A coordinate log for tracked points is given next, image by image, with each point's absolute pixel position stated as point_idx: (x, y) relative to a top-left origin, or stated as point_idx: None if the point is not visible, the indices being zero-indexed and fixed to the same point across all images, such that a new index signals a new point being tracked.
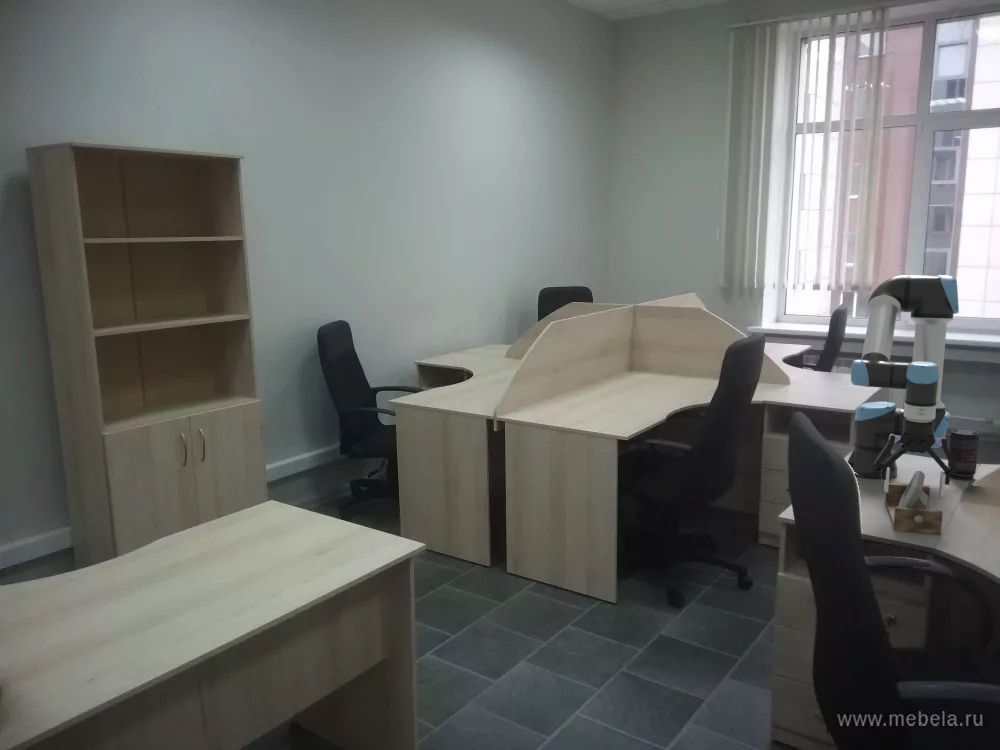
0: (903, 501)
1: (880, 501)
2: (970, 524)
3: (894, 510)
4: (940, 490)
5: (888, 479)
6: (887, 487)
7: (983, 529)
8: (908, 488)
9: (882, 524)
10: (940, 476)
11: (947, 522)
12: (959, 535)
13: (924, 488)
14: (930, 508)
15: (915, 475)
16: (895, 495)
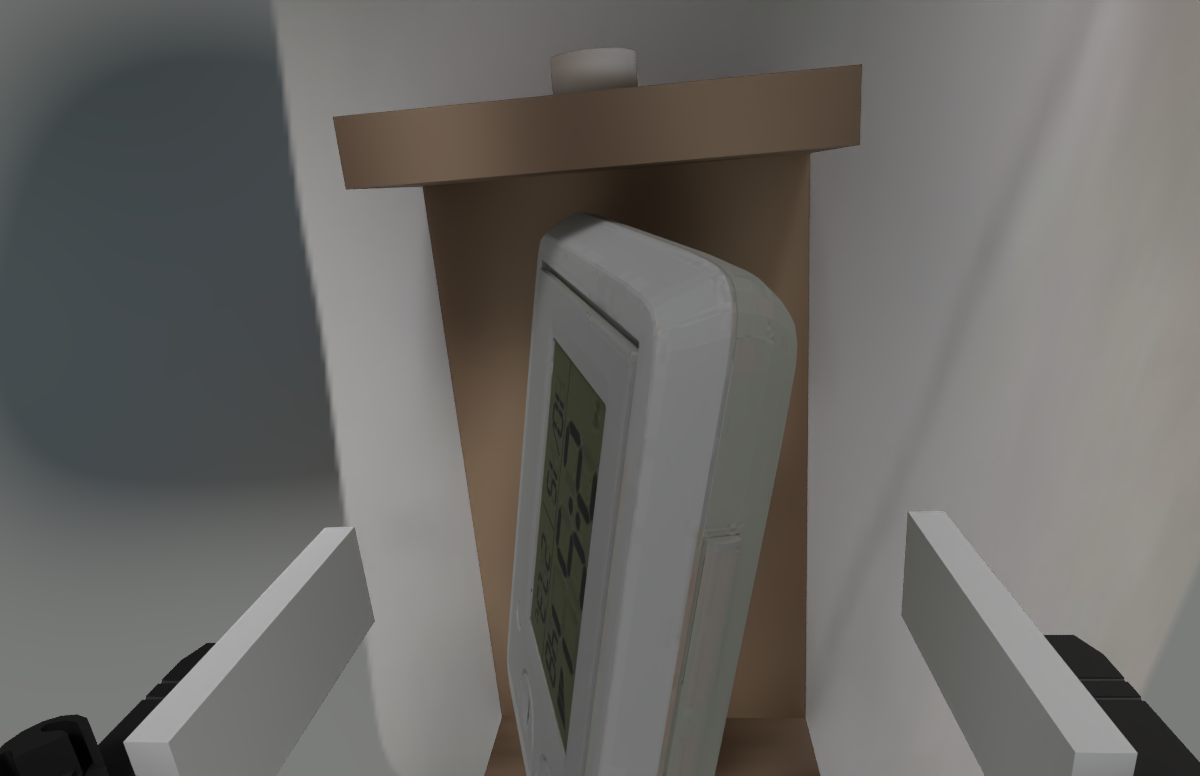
0: (527, 753)
1: (387, 103)
2: (1079, 460)
3: (501, 438)
4: (927, 626)
5: (291, 743)
6: (339, 662)
7: (1149, 540)
8: (566, 542)
9: (440, 645)
10: (1017, 683)
11: (899, 471)
12: (924, 699)
13: (788, 151)
14: (808, 276)
15: (625, 616)
16: (486, 179)
